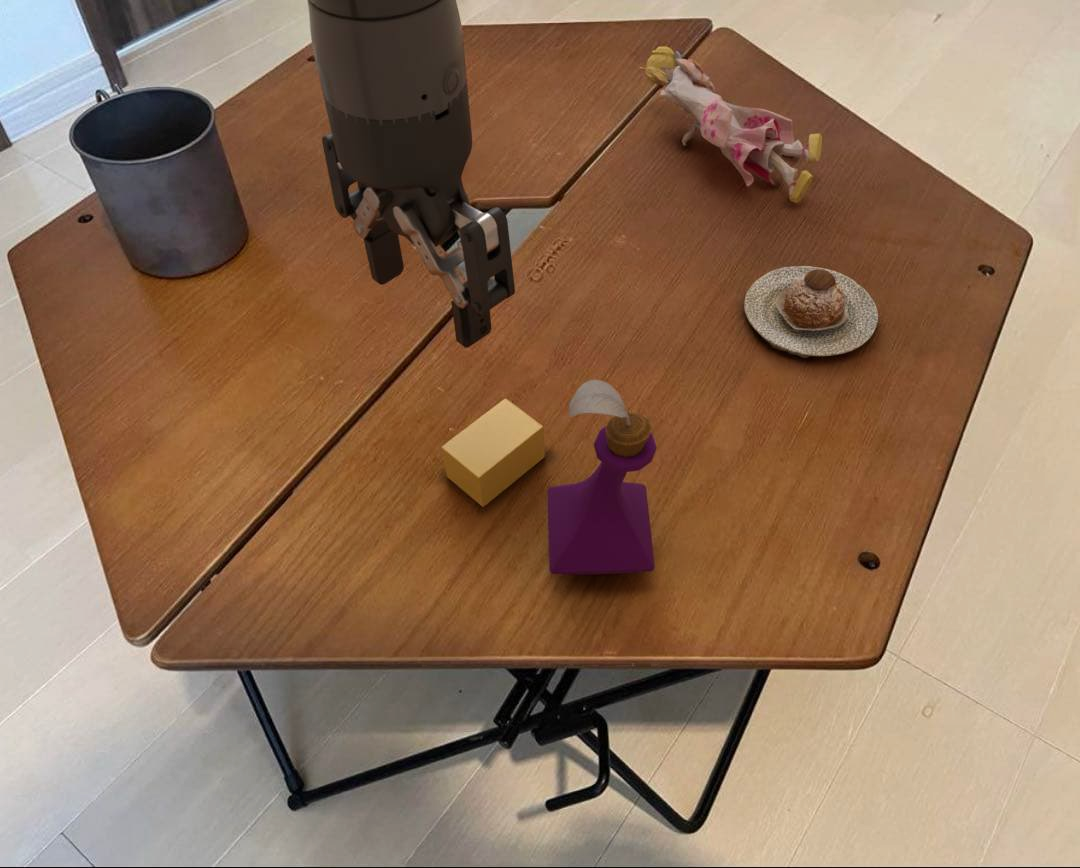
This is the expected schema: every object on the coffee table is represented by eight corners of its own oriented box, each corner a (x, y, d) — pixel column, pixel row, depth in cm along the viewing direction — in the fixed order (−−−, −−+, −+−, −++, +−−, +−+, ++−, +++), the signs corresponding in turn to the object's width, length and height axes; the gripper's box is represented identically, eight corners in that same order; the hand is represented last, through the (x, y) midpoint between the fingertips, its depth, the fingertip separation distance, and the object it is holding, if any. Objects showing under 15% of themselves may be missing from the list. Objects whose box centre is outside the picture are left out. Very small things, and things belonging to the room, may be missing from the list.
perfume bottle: (643, 508, 71) (659, 348, 57) (652, 592, 66) (672, 440, 52) (548, 511, 71) (541, 351, 57) (550, 595, 67) (543, 444, 53)
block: (483, 507, 72) (478, 478, 69) (446, 476, 74) (440, 446, 71) (545, 456, 75) (543, 426, 72) (508, 428, 77) (505, 397, 74)
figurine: (765, 245, 96) (620, 114, 107) (848, 181, 97) (697, 57, 107) (768, 175, 85) (607, 36, 96) (863, 104, 86) (693, -27, 96)
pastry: (889, 362, 80) (904, 324, 76) (753, 366, 80) (762, 329, 77) (857, 272, 88) (869, 234, 84) (733, 276, 88) (740, 238, 84)
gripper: (255, 54, 48) (319, 285, 61) (427, 160, 42) (459, 394, 54) (366, 5, 52) (405, 234, 64) (542, 96, 45) (547, 331, 58)
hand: (430, 307), depth 59 cm, fingers open, 8 cm apart
